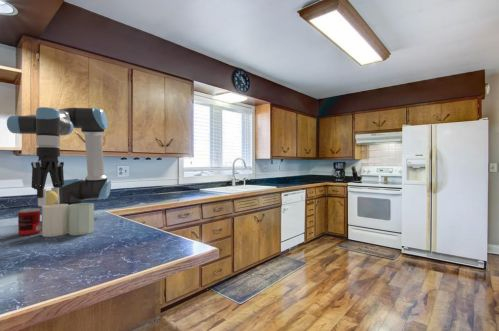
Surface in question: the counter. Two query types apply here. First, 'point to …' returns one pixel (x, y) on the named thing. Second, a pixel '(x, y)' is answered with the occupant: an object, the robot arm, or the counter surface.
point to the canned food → (28, 221)
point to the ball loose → (51, 197)
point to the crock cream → (54, 220)
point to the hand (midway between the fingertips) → (48, 204)
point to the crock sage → (80, 218)
